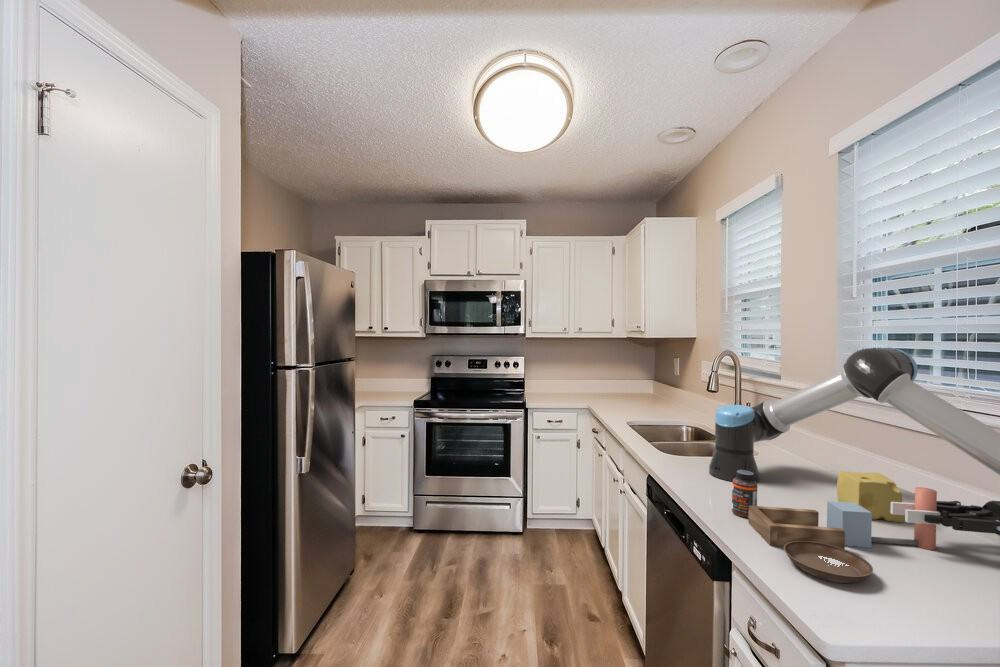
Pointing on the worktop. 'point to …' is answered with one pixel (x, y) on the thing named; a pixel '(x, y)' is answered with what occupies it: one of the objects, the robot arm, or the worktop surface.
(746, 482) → the supplement bottle
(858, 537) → the block
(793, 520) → the wooden u-shaped frame
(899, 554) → the worktop surface
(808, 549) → the saucer
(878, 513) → the cheese
